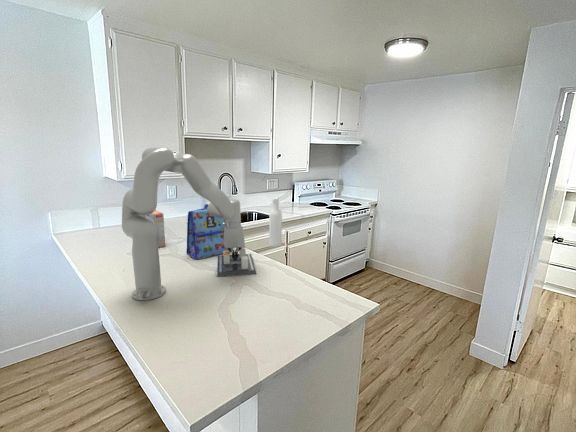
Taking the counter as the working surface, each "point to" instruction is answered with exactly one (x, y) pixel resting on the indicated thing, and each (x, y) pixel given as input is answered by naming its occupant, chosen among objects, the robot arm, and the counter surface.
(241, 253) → the block
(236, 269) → the panel
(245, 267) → the block
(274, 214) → the bottle
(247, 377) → the counter surface
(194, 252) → the lunch bag
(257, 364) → the counter surface
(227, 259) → the block
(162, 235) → the cracker box
